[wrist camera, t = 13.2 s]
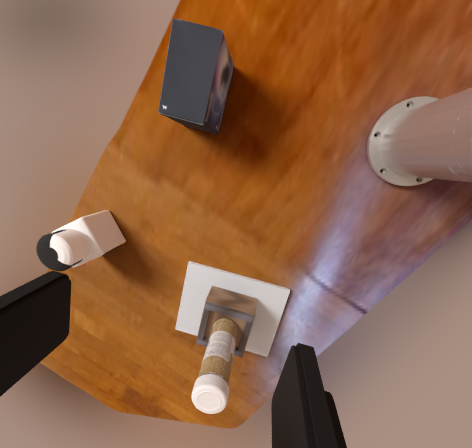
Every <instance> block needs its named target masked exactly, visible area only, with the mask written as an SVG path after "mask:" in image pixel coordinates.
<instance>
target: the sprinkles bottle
mask: <svg viewBox="0 0 472 448" xmlns="http://www.w3.org/2000/svg"><path fill="white" fill-rule="evenodd" d="M237 332H238V329H237V326H236V324H235V323H234V322H233V321H232V320H229V319H226V318H222V319H219V320H217V321H216V322H215V323H214V325H213V330H212V334H211V336H210V338H209V342H208V345H207V348H206V352H205V355H204V358H203V361H202V366H201V369H200V373H199V376H198V378H197V380H196V382H195V385H194V388H193V392H192V402H193V404H194V405H195V407H196V408H197V409H199V410H200V411H202V412H204V413H208V414H216V413H219V412H221V411H222V410H223V409H224V408H225V407H226V405H227V400H228V394H229V387H228V385H229V379H230V373H231V367H232V361H233V356H234V350H235V340H236V335H237Z"/></svg>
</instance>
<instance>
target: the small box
mask: <svg viewBox="0 0 472 448" xmlns="http://www.w3.org/2000/svg"><path fill="white" fill-rule="evenodd" d="M233 70H234V65H233V62H232V59H231V56H230V53H229V50H228V47H227V44H226V41H225V38H224V34H223V31H222V30H219V29H216V28H212V27H208V26H204V25H200V24H196V23H192V22H188V21H184V20H179V19H175V18H173V23H172V29H171V35H170V41H169V47H168V53H167V60H166V66H165V72H164V79H163V85H162V91H161V98H160V104H159V110H158V112H159V114H161V115H164V116H166V117H168V118H170V119H172V120H174V121H176V122H178V123H181V124H183V125H184V126H185V127H191V128H194V129H198V130H202V131H205V132H208V133H212V134H219V130H220V126H221V121H222V117H223V113H224V109H225V104H226V100H227V96H228V91H229V87H230V83H231V79H232V74H233Z"/></svg>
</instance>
